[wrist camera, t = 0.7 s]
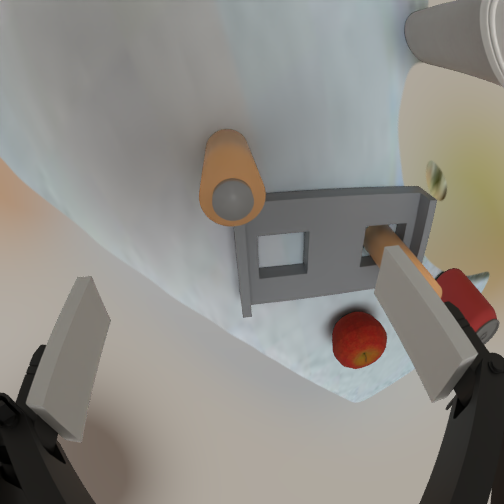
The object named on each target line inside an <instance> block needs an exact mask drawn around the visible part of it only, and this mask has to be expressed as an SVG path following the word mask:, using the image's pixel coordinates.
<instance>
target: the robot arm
mask: <svg viewBox="0 0 504 504" xmlns="http://www.w3.org/2000/svg"><path fill="white" fill-rule="evenodd" d="M374 294H375V296H376V297H377V299H378V301H379V302H380V304H381V306H382V308H383V309H384V311H385V313H386V315H387V317H388V318H389V320H390V322H391V324H392V326H393V327H394V329H395V331H396V333H397V335H398V337H399V338H400V340H401V342H402V344H403V346H404V348H405V350H406V352H407V354H408V355H409V357H410V359H411V361H412V363H413V365H414V367H415V369H416V371H417V373H418V375H419V377H420V379H421V381H422V383H423V385H424V387H425V389H426V391H427V393H428V396H429V398H430V400H431V402H432V403H433V402H436V401H438V400H441V399H443V398H446V397H447V396H448V395H449V394H450V392H451V391H452V390H453V389H454V391H455V392H456V395H455V397H454V398H453V399H452V400H451V401H450V403H449V404H448V405H447V407H446V410H448V409H449V408H450V407H451V406H452V408H451V412H450V416H449V420H448V424H447V428H446V431H445V435H444V438H443V441H442V444H441V447H440V451H439V454H438V457H437V460H436V463H435V465H434V468H433V471H432V474H431V476H430V479H429V482H428V484H427V487H426V489H425V492H424V494H423V496H422V499H421V501H420V503H419V504H487V502H488V499H489V495H490V492H491V488H492V493H491V494H492V495H491V504H504V358H503V357H502V356H501V355H499V354H497V353H489V351H488V350H487V349H486V347H485V346H484V344H483V343H482V341H481V340H480V338H479V337H478V335H477V334H476V332H475V331H474V329H473V328H472V326H470V324H469V322H468V321H467V319H465V317H464V315H463V314H462V312H461V311H460V310H459V308H457V307H456V306H455V305H453V304H452V303H451V302H450V301H447V302H443V301H442V300H441V299H440V297H439V296H438V295H437V293H436V292H435V291H434V289H433V288H432V287H431V285H430V284H429V283H428V281H427V280H426V279H425V277H424V276H423V275H422V274H421V272H420V271H419V270H418V269H417V267H416V266H415V265H414V263H413V262H412V261H411V260H410V259H409V257H408V256H407V255H406V254H405V252H404V251H403V250H402V249H401V248H400V246H399V245H396V246H387V247H384V252H383V256H382V261H381V266H380V270H379V274H378V279H377V283H376V287H375V291H374ZM110 322H111V320H110V317H109V315H108V313H107V311H106V309H105V306H104V304H103V302H102V300H101V297H100V295H99V293H98V290H97V288H96V286H95V283H94V281H93V278H92V277H91V276H88V277H78V278H77V279H76V281H75V283H74V285H73V287H72V289H71V292H70V294H69V296H68V298H67V300H66V302H65V304H64V306H63V308H62V311H61V313H60V315H59V317H58V319H57V322H56V324H55V326H54V329H53V331H52V334H51V336H50V338H49V340H48V343H47V345H40V347H39V348H38V349H37V350H36V352H35V353H34V354H33V357H32V359H31V362H30V366H29V367H28V369H27V372H26V373H27V374H26V375H25V377H24V380H23V383H22V386H21V388H20V391H19V394H18V397H17V400H16V403H15V402H14V401H13V400H12V399H11V398H10V397H9V396H8V395H6V394H5V393H0V504H96V503H95V502H94V501H93V499H92V498H91V496H90V495H89V493H88V491H87V490H86V488H85V487H84V485H83V484H82V482H81V480H80V479H79V477H78V476H77V474H76V472H75V470H74V469H73V467H72V465H71V463H70V462H69V460H68V458H67V456H66V454H65V452H64V450H63V448H62V447H61V445H60V443H59V442H58V441H57V436H58V434H59V435H60V436H62V437H63V438H64V439H65V440H69V441H75V442H81V443H82V438H83V432H84V427H85V422H86V417H87V412H88V407H89V402H90V398H91V394H92V389H93V384H94V381H95V376H96V372H97V368H98V364H99V361H100V357H101V353H102V349H103V346H104V342H105V339H106V335H107V332H108V328H109V325H110Z"/></svg>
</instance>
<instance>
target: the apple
mask: <svg viewBox="0 0 504 504" xmlns="http://www.w3.org/2000/svg"><path fill="white" fill-rule="evenodd" d="M386 342H387V335H386V332H385V329H384V328H383V326H382V325H381V323H380V322H379V321H377V320H376V319H375V318H374V317H373V316H372V315H369V314H367V313H364V312H352V313H350V314H347V315H345V316H344V317H342V318H341V319H340V320H339V321H338V322H337V323H336V325H335V327H334V330H333V334H332V343H333V353H334V356H335V357H336V359H337V360H338V361H339V362H340V363H341V364H342V365H343V366H344V367H349V368H353V369H358V368H362V367H365V366H368V365H370V364H372V363H373V362H375V361H376V360H377V359H378V358H380V357H381V355H382V353H383V352H384V350H385V348H386Z"/></svg>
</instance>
